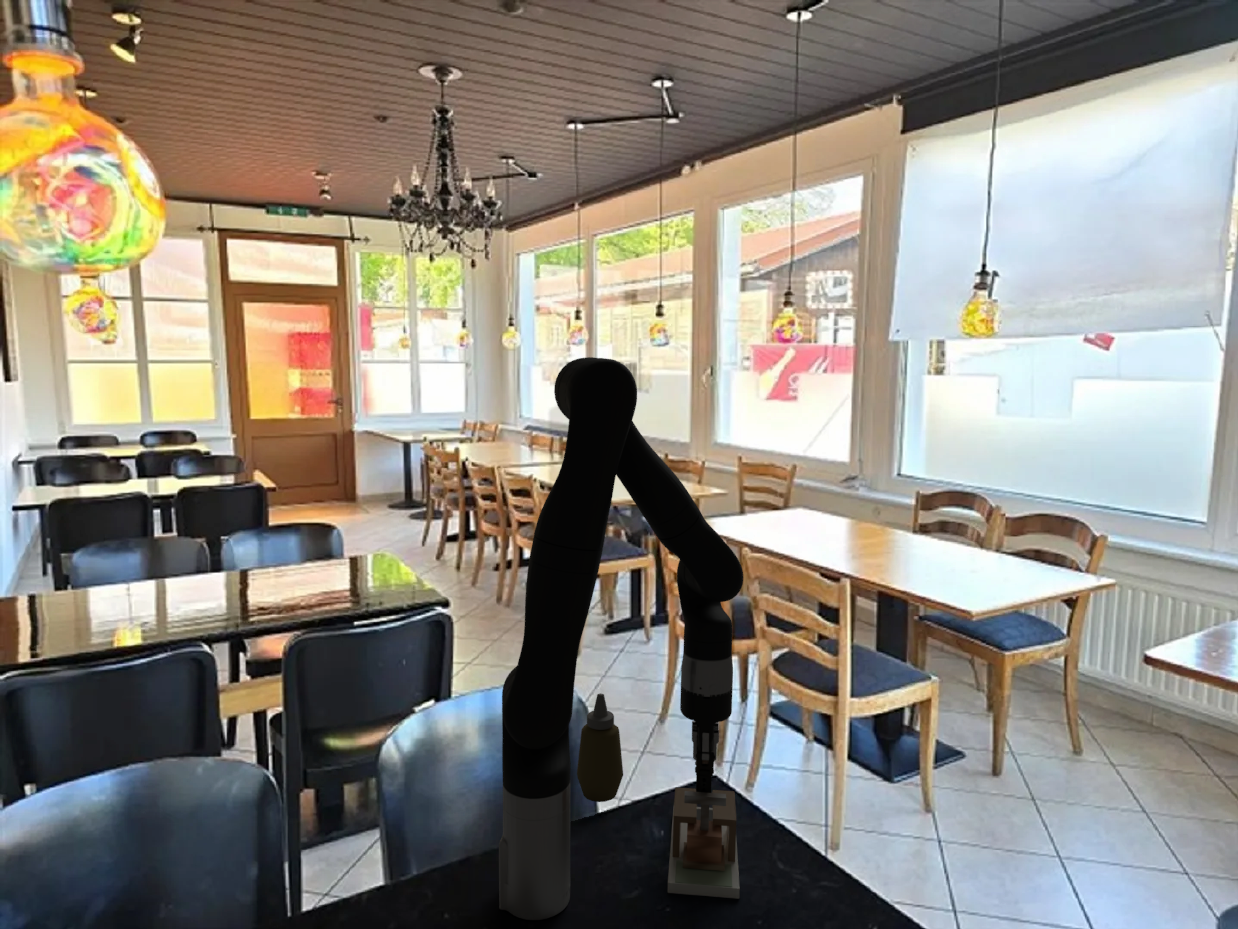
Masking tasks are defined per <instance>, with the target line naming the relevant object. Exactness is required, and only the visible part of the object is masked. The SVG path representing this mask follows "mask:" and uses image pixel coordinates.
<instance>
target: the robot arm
mask: <svg viewBox="0 0 1238 929" xmlns="http://www.w3.org/2000/svg"><path fill="white" fill-rule="evenodd" d="M554 382H555V383H554V388H553V389H554V390H553V393H554V398H555V401H556V404H557V408H558V409H559V411H560V412H561V414H562V415H563V416H564V417H565V418H566V419H567V420H568V427H567V436H566V442H565V449H564V454H563V455H564V456H563V459H562V462H561V463H562V464H561V467H560V469H559V472H558V475H557V476H556V479H555V481H554V484H553V485H552V487H551V489H550V491H549V493H548V495H547V497H546V499H545V501H544V503H543V506H542V507H541V510H540V513H539V515H538V517H537V521H536V525H535V529H534V533H533V536H532V538H533V539H532V544H531V549H530V555H529V560H528V564H527V573H526V574H527V575H526V584H525V599H524V600H525V601H524V605H525V606H524V626H523V627H524V628H523V638H522V644H521V650H520V655H519V657H518V661H517V665H516V666H514V668H513V669H512V670H510V672H509V673H508V675H507V676H506V678H505V681H504V683H503V686H502V691H501V717H502V720H501V724H502V725H501V726H502V729H501V730H502V733H501V734H502V735H501V736H502V738H501V739H502V742H501V743H502V744H501V745H502V747H501V749H502V750H501V752H502V753H501V755H502V756H501V759H502V762H501V766H502V769H501V770H502V836H501V837H500V838H501V839H500V840H499V843H498V883H499V884H498V889H499V890H498V894H499V896H498V900H499V902H498V903H499V904H498V905H499V907H498V908H499V910H501V911H507V912H508V913H509V914H511V915H513V916H514V917H516V918H519V919H523V920H525V921H526V920H527V921H542V920H547V919H549V918H553V917H554V916H556V915H557V916H558V914H560V913H561V912H563V911H564V910H565V908H567V906H568V905H569V902H570V900H571V774H572V773H571V770H572V769H571V763H572V762H571V752H570V749H571V748H570V747H571V746H570V723H571V720H572V715H573V706H574V705H573V704H574V691H575V690H574V689H575V678H576V670H577V661H578V655H579V654H578V653H579V648H580V643H581V639H582V636H583V632H584V628H585V626H586V622H587V618H588V615H589V611H590V607H591V603H592V599H593V596H594V592H595V591H594V590H595V587H596V582H597V580H598V579H597V578H598V575H599V570H600V565H601V562H602V555H603V550H604V544H605V537H606V532H607V525H608V521H609V520H608V519H609V517H610V512H611V511H610V509H611V505H612V501H613V496H614V487H615V482H616V477H617V478H618V480H619V481H620V482H621V484H622V486H623V487H624V488H625V490H626V492H627V493H628V495H629V496H630V498H631V499H632V501H633V503H634V504H635V506H636V507H637V508H638V510H639V511H640V513H641V515H642V516H643V517H644V519H645V521H646V522H647V524H648V525H649V527H650V529H651V530H652V531H653V533H654V535H655V536H656V538H658V541H659V542H660V543H661V544H662V545H663V547H664V548H665V549H666V550H668V551H669V552H671V553H673V555H675V556H676V557H677V558H678V559H679V560H678V564H677V568H676V582H677V583H676V584H677V590H678V597H679V603H680V609H681V612H682V613H681V614H682V617H683V621H684V623H683V624H684V628H683V650H682V651H683V653H682V660H681V666H680V699H679V700H680V703H679V704H680V706H679V709H680V713H681V714H682V715H683V717H685V718H687V719H688V720H691V742H692V743H693V746H692V759H693V760H694V765H695V766H694V773H695V776H696V777H695V780H696V781H695V786H696V787H695V789H696V792H706V793H712V777H714V774H715V770H714V767H715V766H714V765H715V761H717V754H718V751H717V750H718V744H719V743H720V742H719V741H720V730H719V728H720V727H719V726H720V725H719V723H720V722H724V721H727V720H728V719H729V718H730V717H731V715H732V712H733V687H734V686H733V684H734V682H733V681H734V680H733V679H734V666H733V622H732V618H731V617H730V616H729V615H728V613H727V612H726V611H725V610H724V609H723V606H722V603H726V602H729V601H731V600H732V599H734V598H735V597H737V596H738V594H739V593H740V591H741V590H742V587H743V585H744V571H743V568H742V565H741V562H740V560H739V558H738V557H737V555H736V554H735V553H734V551H733V550H732V548H730V546H729V545H728V544H727V542H726V541H724V539H723V538H722V537H721V535H720V534H718V532H716V531H715V529H714V528H713V527H712V526H711V525H710V524H709V523H708V522H707V520H706V519H705V518H704V516H703V514H702V511H701V510H700V509H699V507H698V505H697V504H696V502H695V501H694V499H693V497H692V496H691V494H690V493H689V491H688V490H687V488H686V486H685V484H683V482H682V481H681V480H680V479H679V477H678V476H677V475H676V473H675V472H674V471H673V470H672V469H671V468H670V467H669V466H668V464H666V462H665V461H664V460H663V459H662V458H661V456H659V454H658V453H657V452H656V451H655V450H654V449H653V447H651V445H650V444H649V443H648V442H647V440H646V438H644V436H643V435H642V434H641V432H640V431H639V429H638V427H637V426H636V425H635V423H634V421H633V418H634V415H635V411H636V409H637V407H636V406H637V402H638V388H637V383H636V380H635V377H634V375H633V374H632V372H631V370H630V369H629V368H628V367H627V366H626V365H625V364H624V363H622V362H621V361H618V360H616V359H611V358H605V357H604V358H603V357H592V356H587V357H580V358H575V359H574V360H573V359H572V360H571V361H570V362H567V363H566V364H565V365H564V366H562V368H561V369H560V370H559V372H558V374H557V376H556V378H555V381H554Z"/></svg>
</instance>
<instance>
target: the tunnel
mask: <svg viewBox="0 0 1238 929" xmlns="http://www.w3.org/2000/svg"><path fill="white" fill-rule="evenodd" d="M685 791H692V792H696V788H691V787H689V788H687V787H675V788H674V800H673V810H672V824H671V838H670V849H669V850H670V851H669V863H668V873H667V874H668V876H667V893H668V894H677V895H690V896H704V897H705V896H706V897H715V898H725V899H726V898H727V899H738V900H739V899H740V888H741V887H740V876H739V875H740V874H739V861H738V859H739V858H738V857H739V856H738V844H737V842H738V841H737V840H738V839H737V808H736V797H735V795H736V794H735V791H733V790H722V789H721V790H720V789H718V790H717V789H712V790H711V793H721V794H726V806H718V805H712V807H709V821H713V825H720V826H722V845H724V857H725V871H717V870H705V869H692V868H683V851H684V842H687V824H688V823H692V824H696V820H701V806H698V804H689V803H684V798H685Z"/></svg>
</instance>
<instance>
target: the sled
mask: <svg viewBox="0 0 1238 929" xmlns="http://www.w3.org/2000/svg"><path fill="white" fill-rule="evenodd" d="M684 803H689V804H697V805H700V807H701V820H696V824H692V823H688V824H687V842H684V851H683V868H692V869H705V870H717V871H725V857H724V845H722V826H720V825H713V821H709V808H710V806H713V805H718V806H726V794H721V793H712V792H711V793H706V792H692V791H685V798H684Z"/></svg>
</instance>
